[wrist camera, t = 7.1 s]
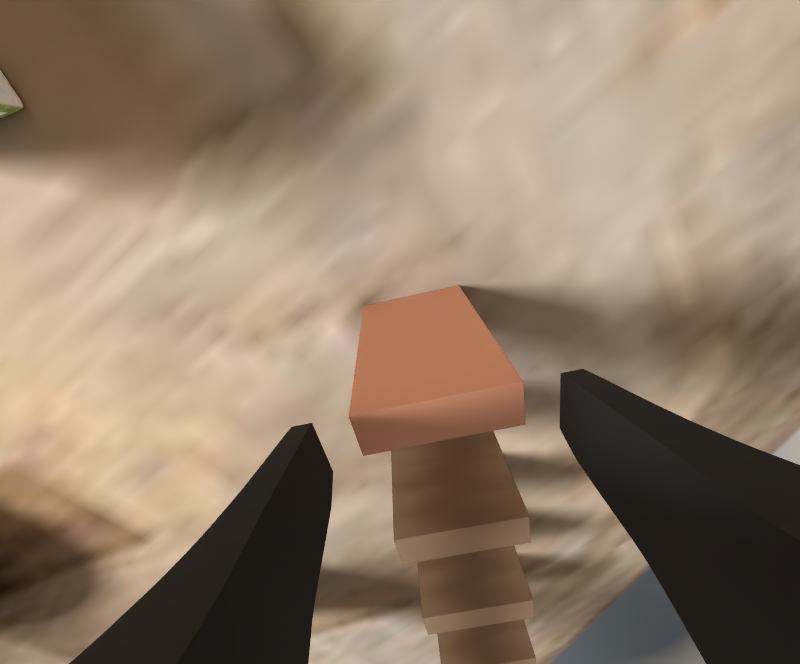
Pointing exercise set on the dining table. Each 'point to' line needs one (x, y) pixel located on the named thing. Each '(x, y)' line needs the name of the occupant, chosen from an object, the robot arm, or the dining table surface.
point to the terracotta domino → (430, 374)
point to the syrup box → (8, 98)
